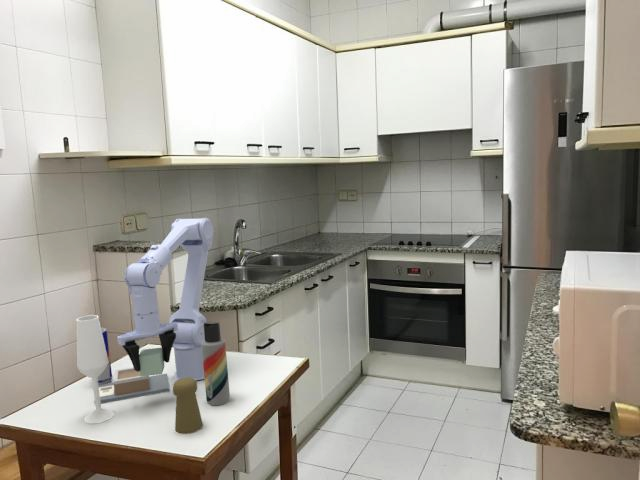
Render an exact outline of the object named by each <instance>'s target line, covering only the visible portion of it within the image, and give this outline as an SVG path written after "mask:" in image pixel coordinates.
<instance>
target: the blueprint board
mask: <svg viewBox="0 0 640 480" xmlns="http://www.w3.org/2000/svg"><path fill="white" fill-rule="evenodd" d="M168 376H169V375H168V373H162V374H158V375H149V376H140V371H138V372H137V371H136V370H134V367H133V366H132V367H126V368H121V369H120V368H119V369H115V370H114V376H113V382H109V383H108V384H102V385H98V386H99V394H100V402H101V404H105V403H112V402H116V401H121V400H127V399H133V398H139V397H145V396H150V395H151V396H152V395H156V394H161V393H166V392H170V383H169V377H168ZM93 403H95V400H94V402H93Z"/></svg>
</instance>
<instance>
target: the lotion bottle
mask: <svg viewBox="0 0 640 480" xmlns="http://www.w3.org/2000/svg"><path fill="white" fill-rule="evenodd" d="M221 334H222V333H221V323H220V322H219V321H206V322H205V323H204V337H205V340H204V341H202V343H201V347H202V358H203V369H204V379H203V380H204V389H205V398H206V399H205V400H206V403H207V404H208V405H210V406H220V405H223V404H226V403H228V402H229V401H230V400H231V399H230V398H231V397H230V395H231V394H230V384H229V383H230V381H229V372H228V371H229V369H228V356H227V349H226V339H224V338H222V335H221Z"/></svg>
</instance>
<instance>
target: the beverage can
mask: <svg viewBox="0 0 640 480" xmlns="http://www.w3.org/2000/svg"><path fill="white" fill-rule="evenodd" d="M101 330H102V334H103V339H104V343H105V348H106V352H107V357H108V365H107V367H106V369H105V370H104V371H103V372H102V373H101V375H100V376H98V377H97V378H98V385H102V384H108V383H111V381H112V380H113V374H112V373H113V372H112V366H111V365H112V364H111V356H110V349H109V346H110V345H109V339H108V332H107V328H105V327H101Z"/></svg>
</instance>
